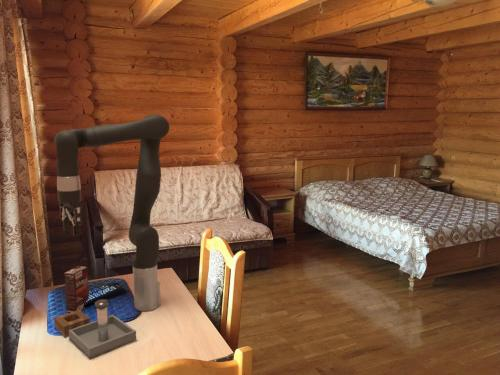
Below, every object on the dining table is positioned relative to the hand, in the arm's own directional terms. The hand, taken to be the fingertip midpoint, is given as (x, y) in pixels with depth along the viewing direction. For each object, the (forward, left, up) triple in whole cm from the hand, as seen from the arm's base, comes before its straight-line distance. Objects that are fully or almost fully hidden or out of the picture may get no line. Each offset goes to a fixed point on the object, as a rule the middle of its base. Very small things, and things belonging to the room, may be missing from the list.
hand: (72, 233), depth 151 cm
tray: (0, +20, -33) cm, 39 cm away
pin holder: (+4, +5, -33) cm, 34 cm away
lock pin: (0, +21, -32) cm, 38 cm away
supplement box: (-4, -9, -33) cm, 35 cm away
